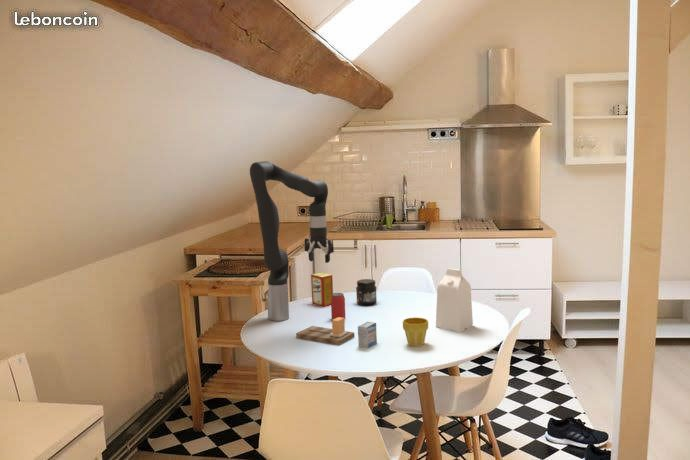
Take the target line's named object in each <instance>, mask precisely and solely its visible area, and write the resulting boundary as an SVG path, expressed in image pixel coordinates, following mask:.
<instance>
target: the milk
mask: <svg viewBox="0 0 690 460" xmlns="http://www.w3.org/2000/svg"><path fill="white" fill-rule="evenodd" d="M471 289H472V287H471V284H470V282H469V281H468V280H467V279H466V278H465V277H464V276H463V273H462V269H456V268H452V267H451V268H450V267H449V268H447V269H446V272H445V274H444V276H443V277H442V279H441V280H440V282H439V284H437V291H436V293H437V294H436V309H435V310H436V311H435V312H436V314H435V315H436V316H435V328H437V327H440V328H439V329H442V328H445V329H444V330H446V329H449V330H448V331H451V330H454V331H453V332H456V331H460V332H462V331H461V330H463V329H465V328H467V327H469V328H471V327H470V326H472V325H473V326H474V322H473V321H474V320H473V305H472V304H473V303H472V290H471ZM473 326H472V327H473ZM467 329H468V328H467ZM465 330H466V329H465ZM463 331H464V330H463Z"/></svg>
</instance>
